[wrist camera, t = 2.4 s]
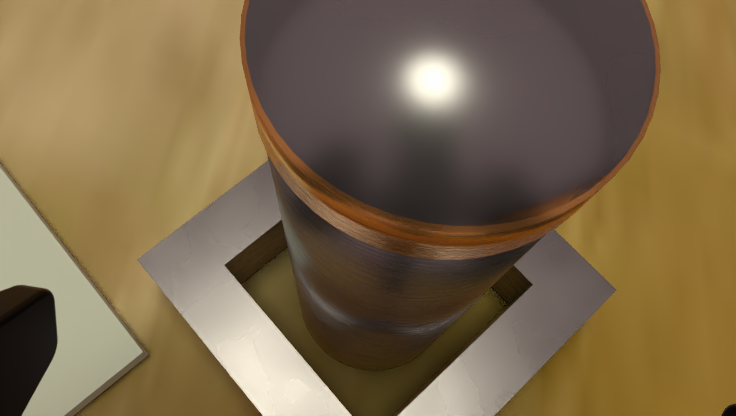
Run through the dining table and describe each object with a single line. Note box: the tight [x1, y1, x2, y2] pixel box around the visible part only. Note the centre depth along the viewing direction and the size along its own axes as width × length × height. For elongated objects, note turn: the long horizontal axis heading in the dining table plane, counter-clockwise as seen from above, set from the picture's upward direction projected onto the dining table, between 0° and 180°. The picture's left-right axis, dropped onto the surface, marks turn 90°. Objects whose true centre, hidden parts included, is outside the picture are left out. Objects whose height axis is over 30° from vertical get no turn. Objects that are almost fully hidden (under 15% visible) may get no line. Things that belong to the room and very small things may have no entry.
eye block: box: [137, 160, 616, 416], centre depth 18 cm, size 9×9×2 cm
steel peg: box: [240, 0, 661, 370], centre depth 13 cm, size 4×4×13 cm
